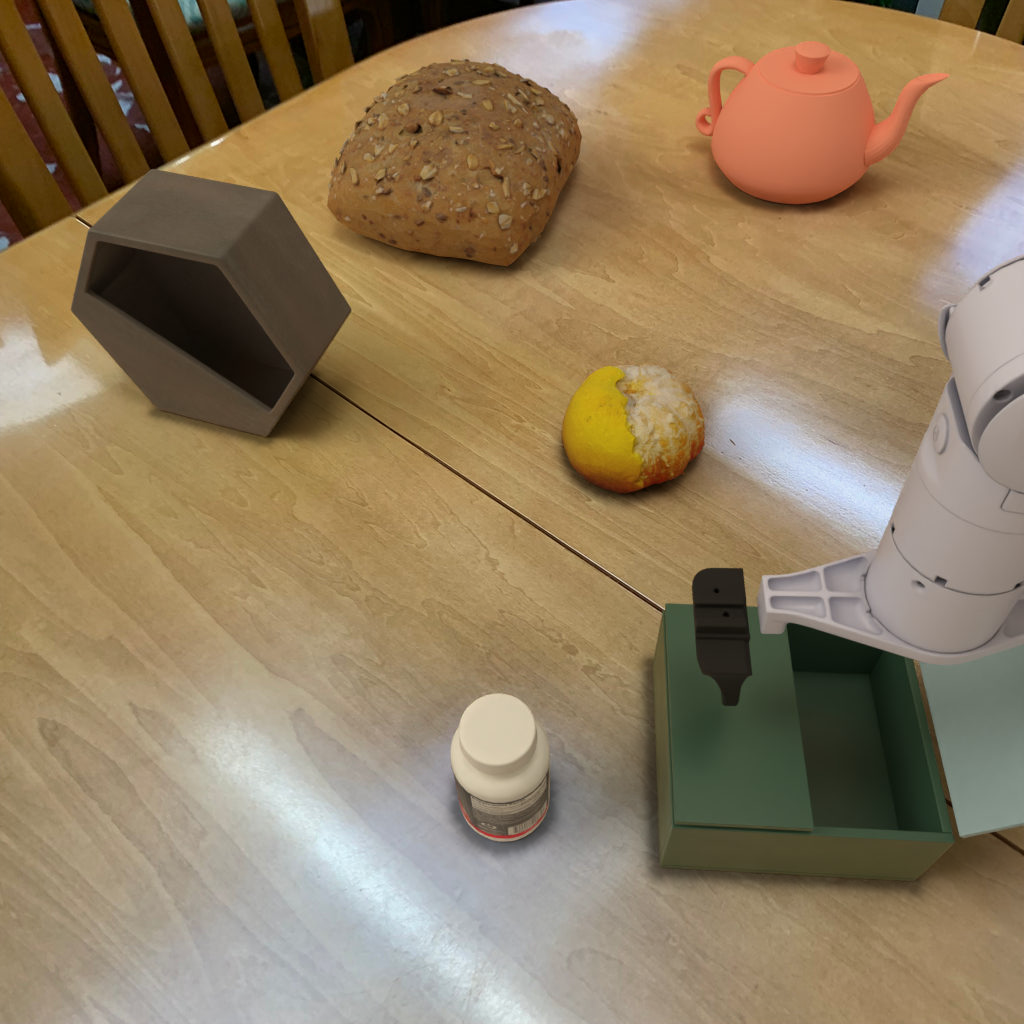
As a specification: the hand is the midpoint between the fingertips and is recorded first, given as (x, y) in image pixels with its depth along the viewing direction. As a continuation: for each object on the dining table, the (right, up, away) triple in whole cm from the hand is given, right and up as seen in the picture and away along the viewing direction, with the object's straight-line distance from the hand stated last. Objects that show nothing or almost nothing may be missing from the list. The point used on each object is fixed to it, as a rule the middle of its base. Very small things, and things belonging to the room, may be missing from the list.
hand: (881, 692), depth 48 cm
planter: (-41, +19, +29) cm, 54 cm away
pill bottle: (-20, -8, +7) cm, 22 cm away
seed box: (-3, -6, +8) cm, 10 cm away
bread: (-24, +41, +45) cm, 65 cm away
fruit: (-10, +14, +24) cm, 29 cm away
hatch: (+6, 0, 0) cm, 6 cm away
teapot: (+10, +43, +46) cm, 64 cm away
